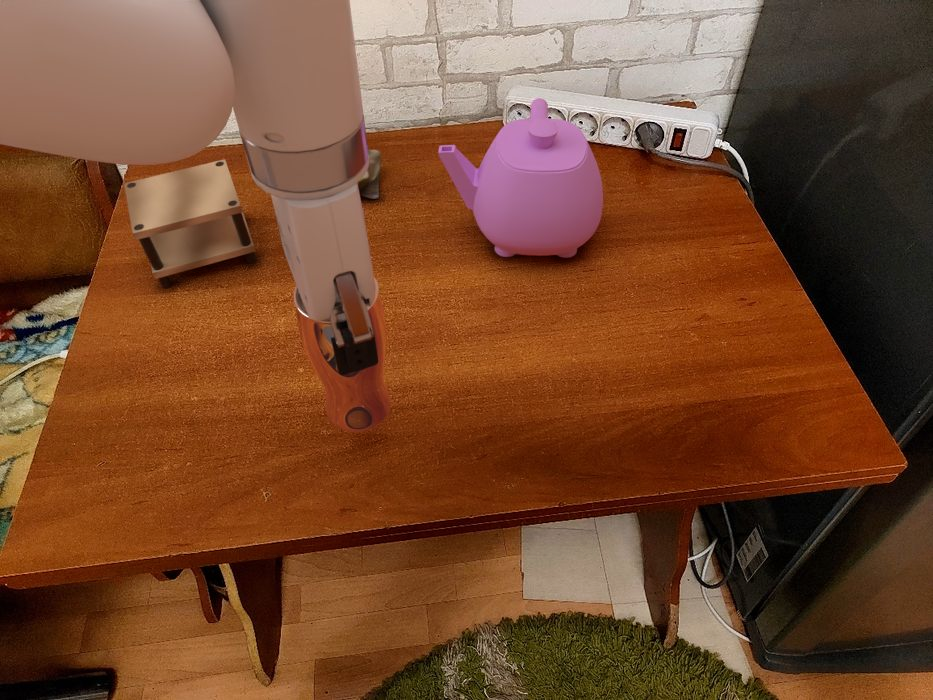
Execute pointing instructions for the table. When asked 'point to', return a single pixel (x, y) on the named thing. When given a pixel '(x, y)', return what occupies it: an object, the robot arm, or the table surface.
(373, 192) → the fruit
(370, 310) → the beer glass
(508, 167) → the teapot
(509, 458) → the table surface
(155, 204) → the rack
